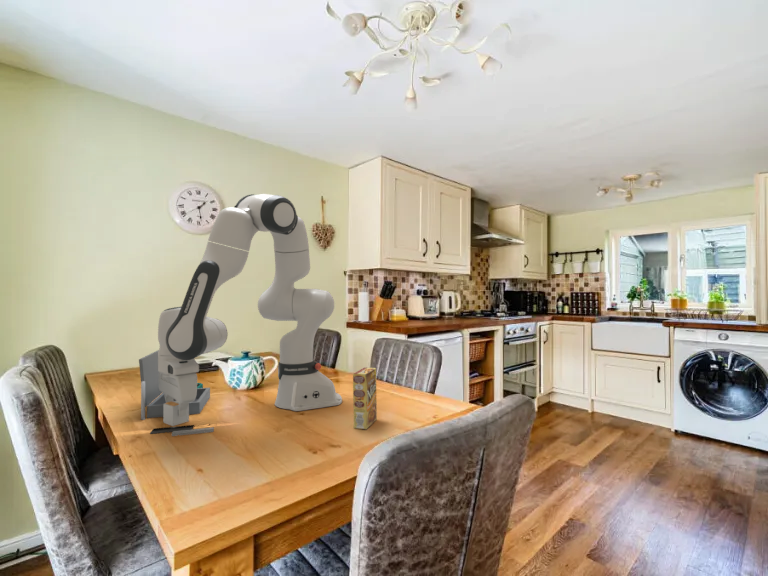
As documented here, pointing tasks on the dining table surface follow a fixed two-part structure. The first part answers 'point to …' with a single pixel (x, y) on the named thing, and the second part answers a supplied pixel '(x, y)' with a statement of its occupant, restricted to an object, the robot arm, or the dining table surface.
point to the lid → (150, 376)
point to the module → (173, 414)
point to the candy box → (364, 398)
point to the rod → (192, 431)
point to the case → (157, 405)
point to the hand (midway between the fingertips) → (176, 412)
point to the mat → (171, 429)
